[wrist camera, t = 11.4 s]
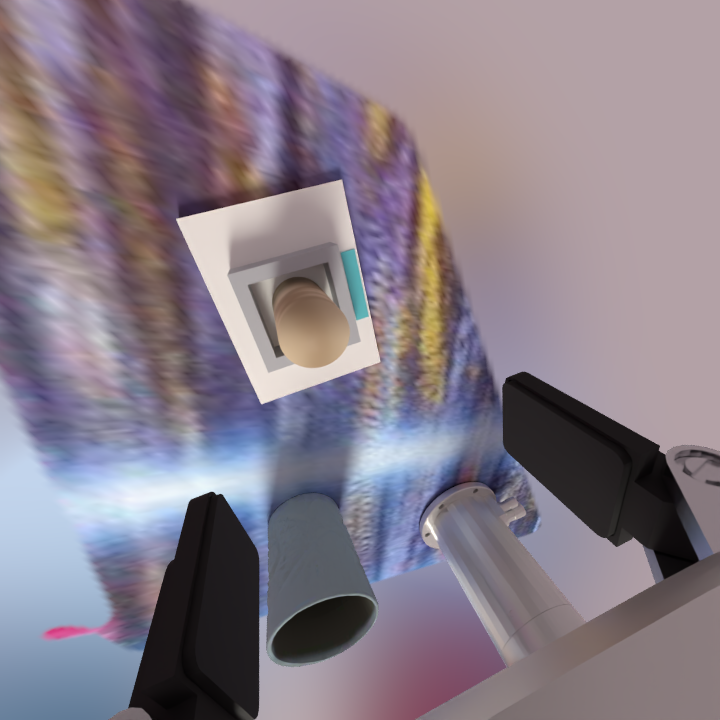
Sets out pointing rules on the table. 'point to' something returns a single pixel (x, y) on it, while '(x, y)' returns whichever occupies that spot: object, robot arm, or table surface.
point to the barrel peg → (308, 323)
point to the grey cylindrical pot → (314, 584)
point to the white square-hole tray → (282, 278)
